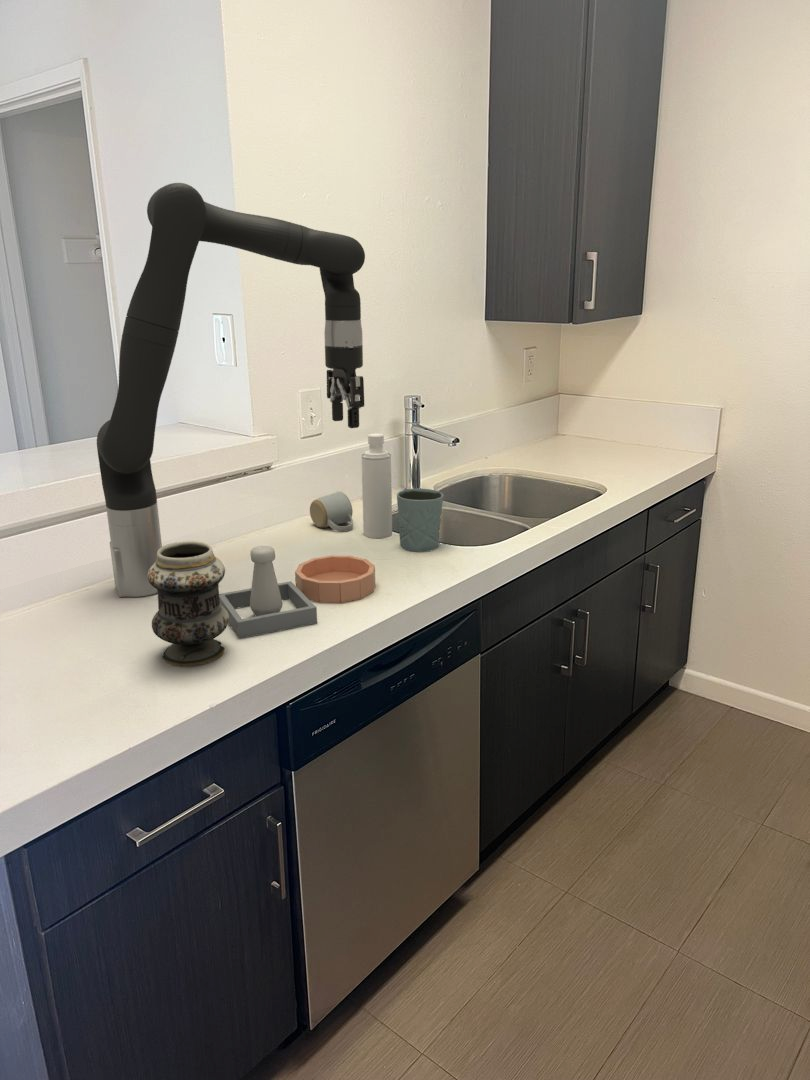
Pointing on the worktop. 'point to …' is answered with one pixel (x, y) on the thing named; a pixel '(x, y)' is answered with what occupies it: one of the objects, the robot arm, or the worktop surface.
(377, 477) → the grey bottle
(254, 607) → the salt shaker
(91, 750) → the worktop surface
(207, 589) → the apothecary jar
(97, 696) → the worktop surface
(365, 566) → the terracotta bowl
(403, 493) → the drinking glass
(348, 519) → the ceramic mug
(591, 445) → the worktop surface
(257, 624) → the tray
